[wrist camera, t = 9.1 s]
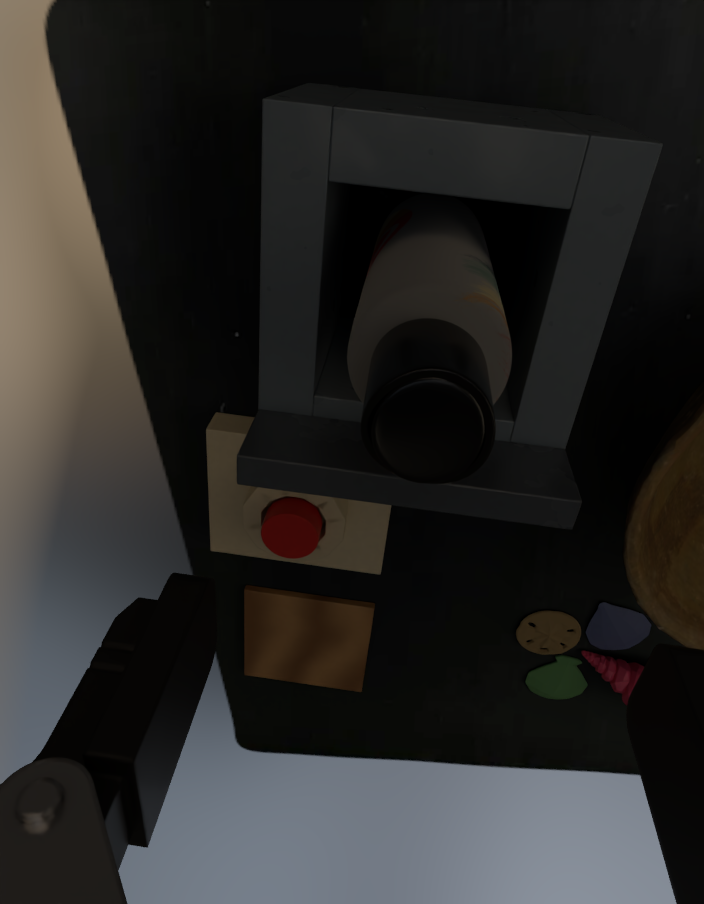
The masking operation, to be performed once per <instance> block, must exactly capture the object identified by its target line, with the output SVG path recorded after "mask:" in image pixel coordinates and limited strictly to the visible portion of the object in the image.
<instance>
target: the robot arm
mask: <svg viewBox="0 0 704 904" xmlns="http://www.w3.org/2000/svg"><path fill="white" fill-rule="evenodd" d="M216 642H217V618H216V590H215V581H214V579H213V578H208V577H201V576H194V575H187V574H179V573H172V574H171V576H170V577H169V579H168V580H167V583H166V584H165V586H164V588H163V591H162V593H161V595H160V597H159V599H158V600H153V599H145V598H137V599H136V600H135V601H134V602H133V603H132V604H131V605H130V606H128V607H127V608H126V609H125V610H124V611H122V612H121V613H120V614H119V615H118V616H117V617H116V618H115V619H114V621H113V623H112V625H111V627H110V628H109V630H108V632H107V634H106V636H105V638H104V639H103V641H102V645H101V647H99V649H98V650H97V652H96V654H95V656H94V658H93V659H92V661H91V665H90V668H88V669H87V670H86V672H85V674H84V676H83V677H82V679H81V681H80V683H79V685H78V687H77V688H76V690H75V692H74V694H73V696H72V698H71V699H70V701H69V703H68V705H67V707H66V708H65V710H64V712H63V714H62V716H61V717H60V719H59V721H58V723H57V725H56V727H55V728H54V730H53V732H52V734H51V736H50V738H49V739H48V741H47V743H46V745H45V746H44V748H43V749H42V751H41V753H40V754H39V755H38V756H37V757H36V759H35V760H34V761H33V762H32V763H30V764H28V765H26V766H24V767H22V768H20V769H19V770H17V771H16V772H14V773H13V774H12V775H11V776H9V777H8V778H7V779H6V780H5V781H4V782H3V783H2V784H0V904H127V901H126V897H125V894H124V890H123V887H122V883H121V879H120V876H119V872H118V870H119V867H120V865H121V862H122V859H123V857H124V854H125V851H126V849H127V846H128V844H129V845H135V846H141V847H148V845H149V842H150V839H151V836H152V833H153V831H154V828H155V825H156V822H157V819H158V816H159V814H160V811H161V808H162V805H163V802H164V799H165V797H166V794H167V791H168V788H169V785H170V783H171V780H172V777H173V774H174V771H175V768H176V766H177V763H178V760H179V757H180V754H181V751H182V748H183V746H184V743H185V740H186V737H187V734H188V732H189V729H190V726H191V723H192V720H193V717H194V715H195V712H196V709H197V706H198V703H199V700H200V698H201V695H202V692H203V689H204V686H205V683H206V681H207V678H208V675H209V672H210V669H211V666H212V663H213V659H214V654H215V649H216ZM626 716H627V728H628V733H629V736H630V740H631V744H632V747H633V751H634V754H635V758H636V761H637V765H638V768H639V772H640V775H641V779H642V782H643V786H644V790H645V793H646V797H647V800H648V804H649V807H650V811H651V814H652V818H653V822H654V825H655V828H656V832H657V836H658V839H659V842H660V846H661V850H662V854H663V857H664V860H665V864H666V867H667V871H668V875H669V878H670V882H671V885H672V889H673V893H674V896H675V899H676V903H677V904H704V650H702V649H695V648H688V647H681V646H674V645H667V644H658V645H657V646H656V647H655V648H654V650H653V651H652V653H651V655H650V657H649V659H648V661H647V663H646V665H645V667H644V669H643V671H642V673H641V675H640V677H639V679H638V680H637V682H636V684H635V686H634V688H633V690H632V692H631V694H630V697H629V700H628V704H627V714H626Z"/></svg>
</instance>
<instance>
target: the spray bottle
mask: <svg viewBox="0 0 704 904" xmlns="http://www.w3.org/2000/svg"><path fill="white" fill-rule="evenodd" d="M347 364H348V372H349V376H350V380H351V383H352V386H353V388H354V390H355V392H356V394H357V395H358V397H359V399H360V400H361V401H362V403H363V411H362V417H361V437H362V441H363V443H364V446H365V448H366V449H367V451H368V453H369V454H370V455H371V456H372V458H373V459H374V460H375V461H376V462H377V463H378V464H380V465H381V466H382V467H384V468H385V469H387V470H388V471H390V472H392V473H394V474H395V475H397V476H399V477H401V478H403V479H405V480H408V481H411V482H416V483H428V484H445V483H451V482H455V481H459V480H461V479H464V478H466V477H468V476H470V475H471V474H473V473H474V472H476V471H477V470H478V469H479V468H480V467H481V466H482V465H483V464H484V463H485V461H486V460H487V458H488V457H489V455H490V453H491V451H492V448H493V445H494V441H495V434H496V423H495V414H494V407H493V405H494V404H495V402H496V401H497V400H498V398H499V397H500V395H501V394H502V392H503V390H504V388H505V386H506V384H507V381H508V378H509V374H510V370H511V364H512V345H511V339H510V334H509V329H508V325H507V321H506V317H505V313H504V309H503V305H502V302H501V298H500V294H499V290H498V286H497V282H496V279H495V275H494V271H493V267H492V263H491V260H490V256H489V252H488V248H487V244H486V241H485V237H484V234H483V231H482V228H481V226H480V223H479V221H478V220H477V218H476V216H475V215H474V213H473V212H472V211H471V210H470V209H469V208H468V207H467V206H466V205H465V204H464V203H463V202H461V201H460V200H458V199H456V198H454V197H452V196H447V195H438V194H430V193H424V194H419V195H416V196H413V197H411V198H408V199H407V200H405V201H403V202H402V203H400V204H399V205H398V206H397V207H395V208H394V209H393V210H392V212H391V213H390V214H389V215H388V217H387V218H386V220H385V221H384V223H383V225H382V227H381V229H380V232H379V235H378V238H377V241H376V244H375V248H374V251H373V255H372V258H371V262H370V265H369V269H368V272H367V276H366V279H365V283H364V286H363V290H362V294H361V297H360V301H359V304H358V308H357V311H356V315H355V318H354V322H353V326H352V330H351V334H350V338H349V343H348V351H347Z"/></svg>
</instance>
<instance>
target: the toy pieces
mask: <svg viewBox="0 0 704 904" xmlns="http://www.w3.org/2000/svg"><path fill="white" fill-rule="evenodd" d="M529 622H531V623H534V624H535V625H536V626H535V627H532V626H530V625H529V624H528V623H529ZM650 628H651V624H650V622H649V621H648V620H647V618H646V617H645V616H644V614H641V613H638V612H635V611H632V610H629V609H626V608H622V607H618V606H614V605H610V604H608V603H605V602H603V603H600V604H599V606H598V610H597V611H596V613H595V614H594V616H593V618H592V619H591V621H590V623H589V625H588V628H587V630H586V632H585V633H586V635H587V637H588V640H589V642H590V644H592V645H594V646H596V647H598V648H600V649H606V650H621V649H628V648H630V647H632V646H634V645H636V644H638V643H640V642H641V641H642V640H643V639H644V638H646V637H647V636H648V635H649V632H650ZM570 629H573V630H574V632H567V630H570ZM580 636H581V627H580V625H579V623H578V621H577V620H575V619H574V618H573V617H572V616H570V615H568V614H565V613H563V612H561V611H550V610H545V611H538V612H536V613H533V614H531V615H529V616H527V617H526V618H525V619H523V620H522V621H521V623H520V626H519V627H518V629H517V630H516V637H517V640H518V642H519V643H520V644H521V645H522V646H523V647H524V648H525V649H527V650H529V651H531V652H535V653H538V654H543V655H544V654H561V653H564V652H566V651H568V650H569V649H571V648H572V647H574V646H575V645H576V644H577V643H578V641H579V639H580ZM531 639H532V641H531V642H526V641H527V640H531ZM560 643H563V644H565V645H564V646H562V645H561V644H560ZM540 648H547V649H545V650H543V649H540ZM582 655H583V656H584V657H585V658H586V659H588V662H591V666H593V667H595V668H596V671H597V672H599V673H602V678H603V679H604V680H605V681H608V682H610V684H611V686H612V688H613V690H614V692H618V693H622V701H623V702H624V703H625V705H627V704H628V700H629V697H630V694H631V692H632V690H633V688H634V686H635V684H636V682H637V680H638V679H639V677H640V675H641V673H642V671H643V669H644V666H642V665H640V664H638V663H636V662H634V663H627V662H626V661H624V660H622V659H616V660H615V659H614V658H613V657H610V656H606V657H605V656H604V655H601V654H597V653H593V652H588V651H585V650H584V651H582ZM555 657H556V660H557V661H555V662H552V663H549V664H546V665H543V666H541V667H539V668H536V669H534V670H531V671H529V673H528V675H527V678H526V681H525V683H526V684H527V686H528V687H529V689H530V690H531V691H532V692H534V693H536V694H537V695H539V696H542V697H545V698H549V699H569V698H571V697H574V696H577V695H580V694H581V693H582V692H583V691H584V689H585V688H586V687H587V682H586V681H585V679H584V677H583V675H582V673H581V671H580V670H579V669H578V667H577V666H576V665H579V664H581V663H582V661H581V660H579V659H578V658H574V657H570V656H564V655H558V656H555Z"/></svg>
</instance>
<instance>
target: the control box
mask: <svg viewBox="0 0 704 904" xmlns="http://www.w3.org/2000/svg"><path fill="white" fill-rule="evenodd" d="M254 418H255V417H248V416H241V415H233V414H225V413H218V412H216V413H215V415H214V416H213V418H212V420H211V422H210V423H209V425H208V427H207V428H206V442H207V468H208V494H209V520H210V546H211V551H216V552H223V553H230V554H238V555H245V556H252V557H259V558H266V559H273V560H280V561H287V562H295V563H302V564H309V565H316V566H323V567H330V568H337V569H344V570H352V571H359V572H366V573H373V574H381V569H382V562H383V556H384V549H385V543H386V537H387V530H388V524H389V517H390V511H391V505H385V504H378V503H371V502H363V501H356V500H349V499H341V498H334V497H327V496H319V495H312V494H305V493H297V492H290V491H283V490H275V489H268V488H260V487H253V486H246V485H239V484H237V454H238V452H239V450H240V448H241V445H242V443H243V441H244V439H245V437H246V435H247V433H248V431H249V428H250V426H251V424H252V422H253V420H254ZM285 497H296V498H301V499H304V500H306V501H308V502H310V503H311V504H313V505H314V506H315V507H316V508H317V509H318V511H319V513H320V515H321V517H322V528H321V533H320V537H319V541H318V545H317V547H316V549H315V550H314V551H313V552H312V553H311V554H309V555H307V556H305V557H302V558H297V559H290V558H284V557H281V556H278V555H276V554H274V553H273V552H271V551H270V550H269V549H268V548H267V547H266V546H265V544H264V542H263V540H262V537H261V528H262V525H263V522H264V519H265V516H266V513H267V511H268V508H269V507H270V506H271V505H272V503H274V502H275V501H277V500H279V499H281V498H285Z"/></svg>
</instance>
